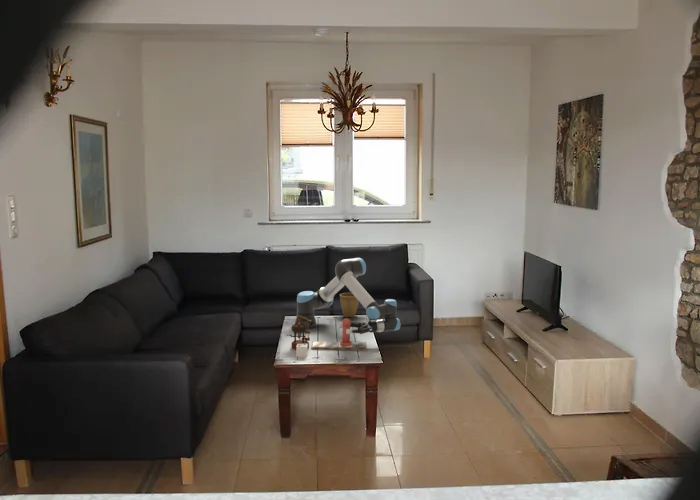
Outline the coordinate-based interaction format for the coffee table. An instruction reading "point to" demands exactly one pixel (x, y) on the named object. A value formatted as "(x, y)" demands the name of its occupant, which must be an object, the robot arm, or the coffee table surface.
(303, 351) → the die
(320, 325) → the coffee table surface
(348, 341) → the pawn
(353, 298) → the plant pot
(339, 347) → the board
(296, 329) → the music box
